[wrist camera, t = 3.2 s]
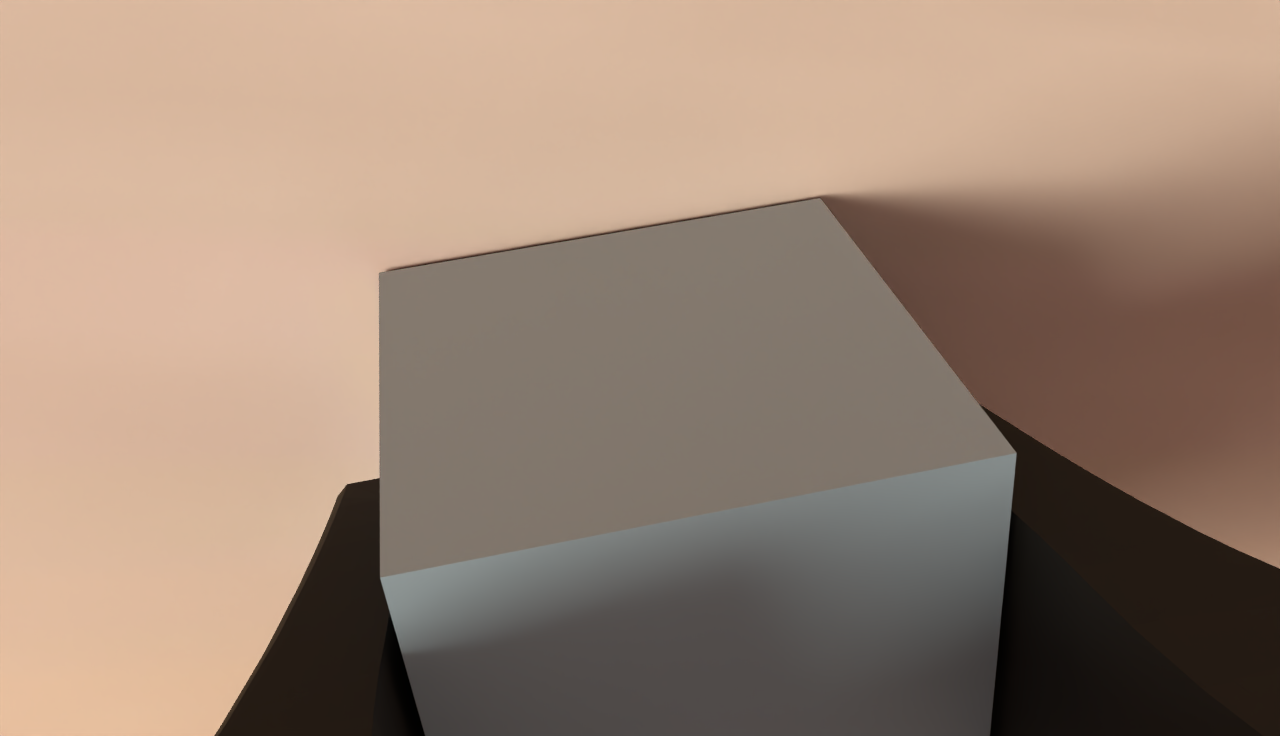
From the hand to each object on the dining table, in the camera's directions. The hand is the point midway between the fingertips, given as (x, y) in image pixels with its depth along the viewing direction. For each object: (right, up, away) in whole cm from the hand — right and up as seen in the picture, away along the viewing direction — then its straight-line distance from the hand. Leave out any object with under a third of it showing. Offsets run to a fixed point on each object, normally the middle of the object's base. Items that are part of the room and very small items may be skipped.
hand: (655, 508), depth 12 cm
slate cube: (0, +1, +1) cm, 2 cm away
